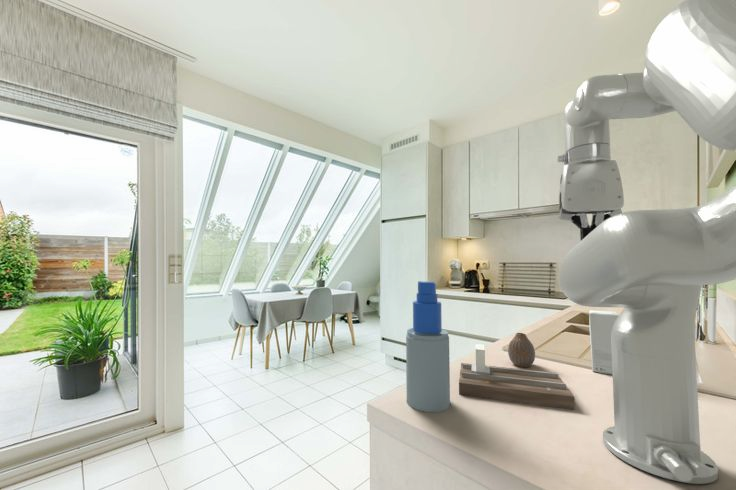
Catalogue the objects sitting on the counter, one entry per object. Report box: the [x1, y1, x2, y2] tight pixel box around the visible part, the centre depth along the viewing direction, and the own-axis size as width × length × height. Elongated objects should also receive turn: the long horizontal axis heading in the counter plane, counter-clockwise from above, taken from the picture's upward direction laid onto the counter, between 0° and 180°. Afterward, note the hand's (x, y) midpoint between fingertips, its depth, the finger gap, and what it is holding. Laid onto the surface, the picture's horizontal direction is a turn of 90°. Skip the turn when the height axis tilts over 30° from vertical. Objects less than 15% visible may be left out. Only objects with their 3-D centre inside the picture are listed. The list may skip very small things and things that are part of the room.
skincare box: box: [588, 309, 619, 376], centre depth 84 cm, size 8×7×16 cm
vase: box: [507, 332, 536, 368], centre depth 88 cm, size 7×7×9 cm
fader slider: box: [471, 343, 490, 375], centre depth 74 cm, size 5×4×6 cm
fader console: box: [458, 362, 576, 411], centre depth 71 cm, size 14×22×4 cm, turn 71°
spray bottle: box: [405, 280, 451, 413], centre depth 65 cm, size 9×9×25 cm
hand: (590, 247), depth 63 cm, fingers closed
